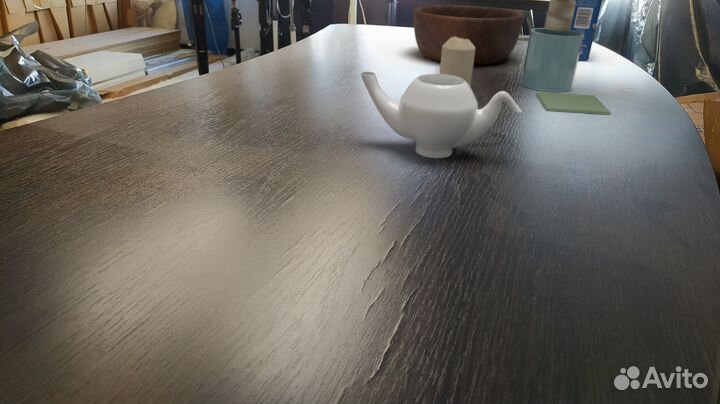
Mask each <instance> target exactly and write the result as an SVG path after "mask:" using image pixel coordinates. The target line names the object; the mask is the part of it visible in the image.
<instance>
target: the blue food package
mask: <svg viewBox="0 0 720 404" xmlns="http://www.w3.org/2000/svg"><path fill="white" fill-rule="evenodd" d="M575 1H576V5H575V9H574V14H573V19H572V24H571V28H570V30H573V31H578V32H582V33H583V34H584V36H583V41H582V45H581V50H580V54H579V59H578V61H589V60H590V59H589V58H590V54H591V50H592V46H593V42H594V38H595V33H596V28H597V24H598V20H599V15H600V11H601V6H602V2H603V0H575Z"/></svg>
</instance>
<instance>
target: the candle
mask: <svg viewBox="0 0 720 404" xmlns="http://www.w3.org/2000/svg"><path fill="white" fill-rule="evenodd" d="M474 55H475V46H474V45H473V44H472V43H471V42H470V41H469V39H463V38H458V37H456V36H455V37H451V38H450V39H449V40H448V41H447V42H446V43H445V44H444V45H443V46H442V55H441V61H440V65H439V74H446V75H453V76H457V77H460V78H462V79H464V80H465V81H466V82H467V83H468V84H469V85H470V87H471V88H472V77H473V71H474V70H473V69H474V65H473V63H474Z"/></svg>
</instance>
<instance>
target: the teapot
mask: <svg viewBox="0 0 720 404" xmlns="http://www.w3.org/2000/svg"><path fill="white" fill-rule="evenodd" d="M360 75H361V79H362V82H363V84H364V86H365V88H366V90H367V92H368V95H369V96H370V98H371V100H372V102H373V104H374V106H375V108H376V110H377V112H378V113H379V115H380V116H381V118H382V119H383V121H385V123H386V124H387V125H388V126H389V127H390V129H391V130H392V131H394V132H395V133H396V134H397V135H398V136H400V137H402V138H405V139H409V140H413V141H414V143H415V152H416V153H417V154H418V155H420V156H422V157H425V158H430V159H445V158H448V157H451V155H453V150H454V149H457V148H463V147H465V146H468V145H470V144H472V143H474V142H476V141H478V140H480V138H482V137H483V136H484V135H485V134H486V133H487V132H488V131H489V130H490V129H491V128H492V126H493V125H494V124H495V122H496V121H497V119H498V117H499V114H500V111H501V107H502V104H503V102H504V103H506V105H507V107H508V108H509V109H510V110H511V112H513V113H518V114H522V113H523V111H522V110H521V108H520V107H519V105H518V104H517V103H516V101H515V100H514V99H513V97H512V96H511V95H510V94H509V93H508V92H507V91H505V90H499V91H498V92H496V93H495V94H494V95H493V96H492V97H491V99H490V100H489V101H488V102H487V104H486V105H485V106H483V107H482V108H479V103H478V100H477V98H476V96H475V94H474V91H473V89H472V86H471V87H470V85H469V84H468V83H467V82H466V81H465V80H464V79H462V78H460V77H457V76H453V75H446V74H440V73H427V74H422V75H419V76H417V77H416V78H414V79H413V80H412V81H411V82H410V83H409V85H408V86H407V88H406V89H405V91H404V92H403V93H402V95H401V97H400V98H399V100H396V99H394V98H392V97H391V96H389V95H388V94H387V93H386V92H385V91H384V90H383V89H382V88H381V86H380V84H379V81H378V78H377V75H376V72H373V71H363V72H361V74H360Z"/></svg>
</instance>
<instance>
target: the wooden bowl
mask: <svg viewBox="0 0 720 404" xmlns="http://www.w3.org/2000/svg"><path fill="white" fill-rule="evenodd" d="M412 14H413V16H412V17H413V30H414V32H413V33H414V38H415V41H416V45H417V48H418V50H419V52H420V54H421V55H422V56H423V57H425V58H427V59H429V60H432V61H437V62H441V55H442V46H443V45H444V44H445V43H446V42H447V41H448V40H449V39H450V38H451V37H455V36H456V37H458V38H463V39H469V41H470V42H471V43H472V44H473V45H474V46H475V55H474V63H473V66H475V65H478V66H479V65H493V64H498V63H501V62H503V61H505V60H506V59H508V58H509V56H510V55H511V53H512V52H513V50H514V49H515V46H516V45H517V43H518V40H519V37H520V35H521V31H522V28H523V24H524V21H525V14H523V13H522V12H520V11H517V10H513V9H507V8H502V7H490V6H481V5H464V4H463V5H462V4H461V5H460V4H439V5H438V4H437V5H436V4H435V5H425V6H419V7H416V8H415V9H414V10H413V13H412Z"/></svg>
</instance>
